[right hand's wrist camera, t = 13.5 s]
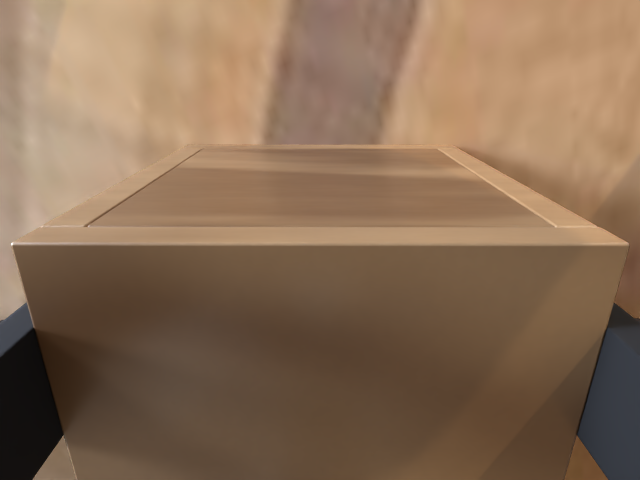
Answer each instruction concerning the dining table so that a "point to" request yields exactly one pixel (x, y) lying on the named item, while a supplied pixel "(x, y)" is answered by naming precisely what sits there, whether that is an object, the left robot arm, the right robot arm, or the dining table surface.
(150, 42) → the dining table surface
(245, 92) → the dining table surface
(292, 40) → the dining table surface
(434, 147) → the cabinet
